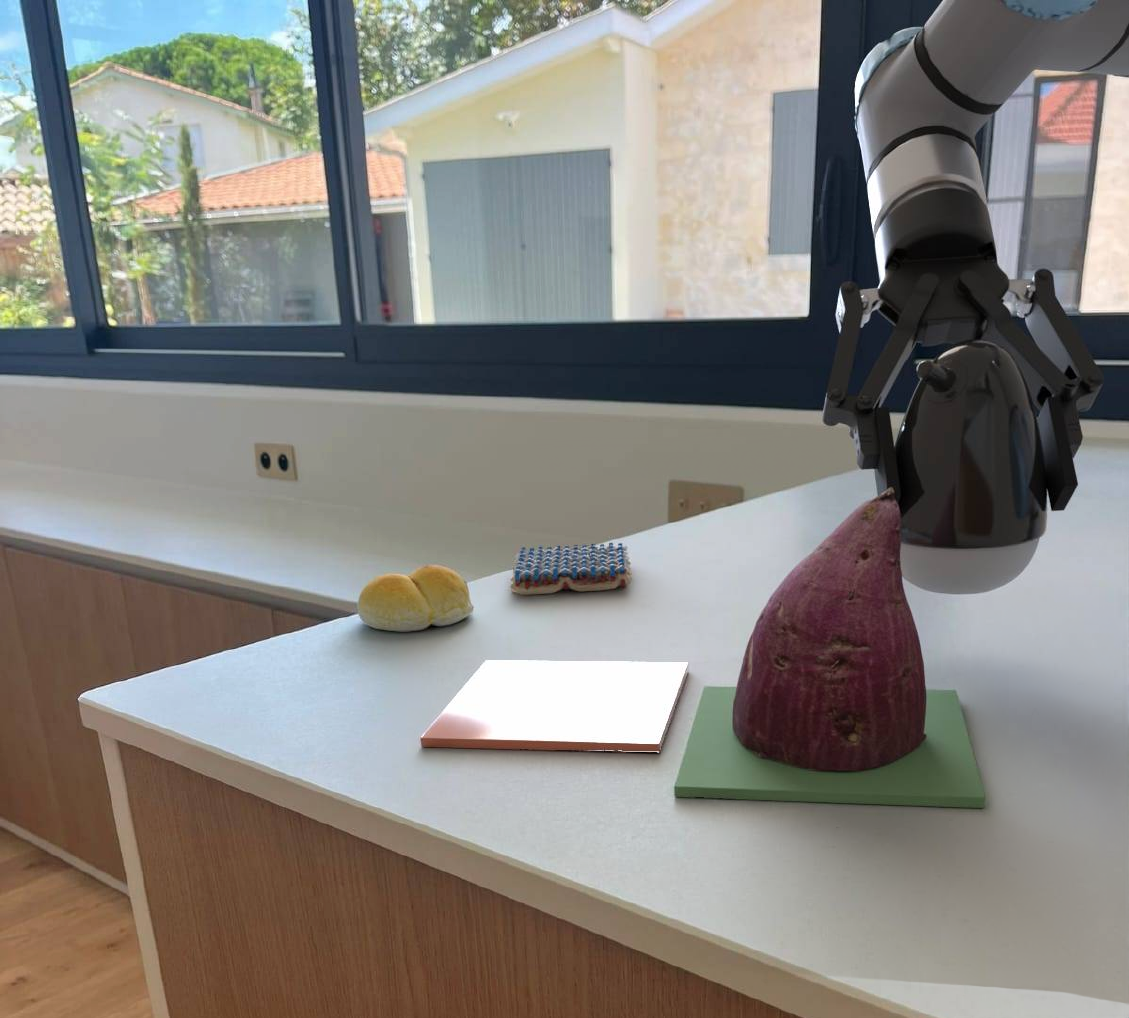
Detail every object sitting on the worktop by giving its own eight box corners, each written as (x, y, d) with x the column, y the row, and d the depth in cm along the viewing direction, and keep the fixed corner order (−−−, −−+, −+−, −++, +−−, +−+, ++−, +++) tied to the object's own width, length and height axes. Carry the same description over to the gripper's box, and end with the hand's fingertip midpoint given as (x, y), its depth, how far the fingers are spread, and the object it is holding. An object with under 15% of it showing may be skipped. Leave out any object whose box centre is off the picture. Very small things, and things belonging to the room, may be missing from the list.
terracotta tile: (688, 671, 76) (688, 662, 76) (659, 753, 64) (659, 744, 64) (486, 668, 79) (485, 660, 79) (420, 747, 67) (419, 737, 67)
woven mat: (629, 561, 105) (628, 539, 105) (633, 591, 96) (632, 567, 95) (516, 567, 106) (514, 545, 105) (508, 598, 96) (506, 574, 95)
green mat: (955, 699, 69) (956, 689, 68) (984, 808, 55) (985, 797, 55) (704, 694, 72) (704, 685, 72) (674, 797, 59) (673, 786, 58)
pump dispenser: (842, 589, 76) (850, 346, 70) (934, 558, 82) (948, 332, 76) (982, 615, 69) (1003, 347, 63) (1071, 580, 75) (1098, 331, 69)
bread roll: (352, 614, 94) (346, 567, 93) (458, 599, 97) (454, 552, 95) (369, 641, 87) (362, 589, 85) (483, 623, 89) (479, 573, 88)
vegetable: (920, 763, 67) (1016, 510, 61) (889, 817, 58) (997, 525, 52) (751, 703, 70) (827, 457, 65) (697, 744, 61) (780, 463, 56)
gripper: (1080, 258, 81) (1143, 527, 73) (762, 280, 83) (786, 545, 74) (1118, 168, 74) (1192, 454, 66) (770, 194, 76) (798, 476, 68)
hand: (977, 502), depth 70 cm, fingers closed on pump dispenser, 10 cm apart
